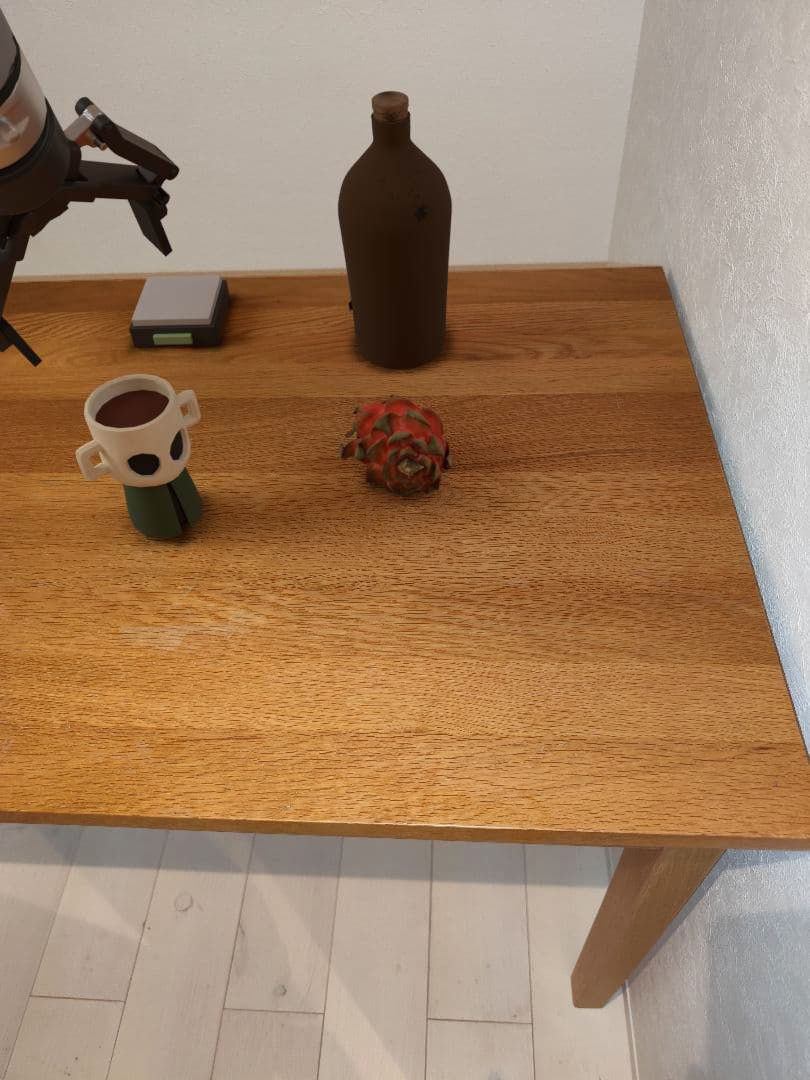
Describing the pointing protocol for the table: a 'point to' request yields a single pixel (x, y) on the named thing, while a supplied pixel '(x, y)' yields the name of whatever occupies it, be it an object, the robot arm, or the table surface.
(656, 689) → the table surface
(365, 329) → the olive oil
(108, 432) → the character mug
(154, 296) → the scale
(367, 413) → the dragon fruit
